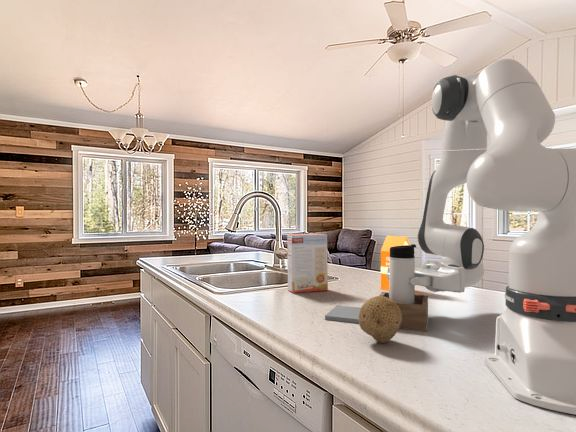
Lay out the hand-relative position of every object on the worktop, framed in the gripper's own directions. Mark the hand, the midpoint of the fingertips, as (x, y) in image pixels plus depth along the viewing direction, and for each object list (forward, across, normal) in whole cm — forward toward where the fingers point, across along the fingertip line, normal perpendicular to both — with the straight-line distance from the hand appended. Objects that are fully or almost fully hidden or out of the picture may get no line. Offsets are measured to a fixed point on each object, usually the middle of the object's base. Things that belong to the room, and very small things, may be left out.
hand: (399, 279), depth 91 cm
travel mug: (-1, 0, +11) cm, 11 cm away
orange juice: (-30, -31, +11) cm, 44 cm away
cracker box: (+1, -45, +11) cm, 46 cm away
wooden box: (-1, 0, +11) cm, 11 cm away
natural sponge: (+15, +9, +11) cm, 21 cm away
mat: (+8, -10, +11) cm, 17 cm away
